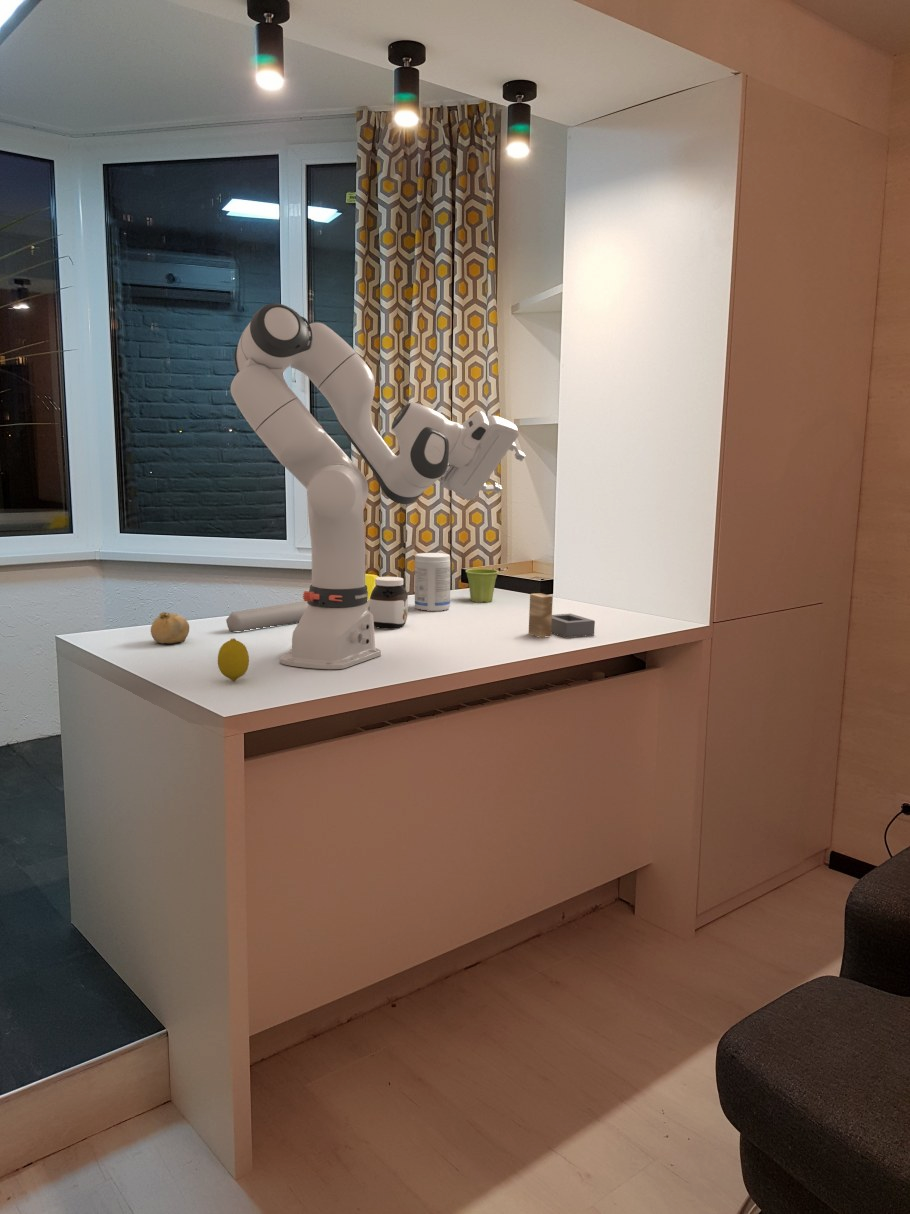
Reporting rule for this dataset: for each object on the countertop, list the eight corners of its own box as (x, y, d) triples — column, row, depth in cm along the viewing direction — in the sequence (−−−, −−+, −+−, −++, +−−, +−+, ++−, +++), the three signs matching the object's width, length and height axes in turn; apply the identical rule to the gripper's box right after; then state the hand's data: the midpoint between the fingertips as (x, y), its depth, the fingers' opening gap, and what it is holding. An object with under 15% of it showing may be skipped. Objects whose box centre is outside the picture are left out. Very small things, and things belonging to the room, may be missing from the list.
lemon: (211, 683, 165) (210, 639, 164) (229, 676, 170) (229, 634, 169) (237, 686, 163) (237, 642, 162) (255, 679, 168) (254, 637, 167)
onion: (156, 639, 201) (154, 607, 200) (193, 639, 202) (192, 607, 200) (147, 647, 193) (146, 614, 192) (185, 647, 194) (184, 614, 192)
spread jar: (394, 631, 215) (394, 582, 213) (351, 626, 219) (351, 578, 217) (415, 622, 226) (415, 576, 224) (374, 618, 230) (374, 572, 228)
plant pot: (487, 604, 254) (488, 574, 253) (458, 601, 259) (459, 571, 258) (503, 600, 262) (504, 570, 261) (474, 597, 267) (475, 567, 266)
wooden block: (540, 637, 212) (541, 597, 211) (528, 633, 217) (530, 593, 215) (550, 636, 214) (552, 596, 212) (539, 632, 218) (540, 593, 216)
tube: (237, 618, 206) (322, 605, 225) (224, 608, 209) (309, 595, 228) (233, 639, 208) (318, 624, 227) (220, 628, 211) (304, 614, 230)
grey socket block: (566, 637, 213) (566, 622, 212) (542, 629, 221) (543, 615, 221) (594, 635, 216) (594, 620, 216) (569, 627, 225) (570, 613, 224)
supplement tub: (448, 606, 251) (450, 552, 249) (450, 612, 242) (452, 557, 239) (413, 605, 251) (414, 552, 248) (414, 611, 241) (415, 556, 239)
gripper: (437, 490, 205) (488, 515, 211) (487, 416, 196) (539, 445, 201) (435, 476, 210) (484, 501, 216) (483, 404, 201) (534, 432, 206)
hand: (511, 473), depth 208 cm, fingers open, 8 cm apart
